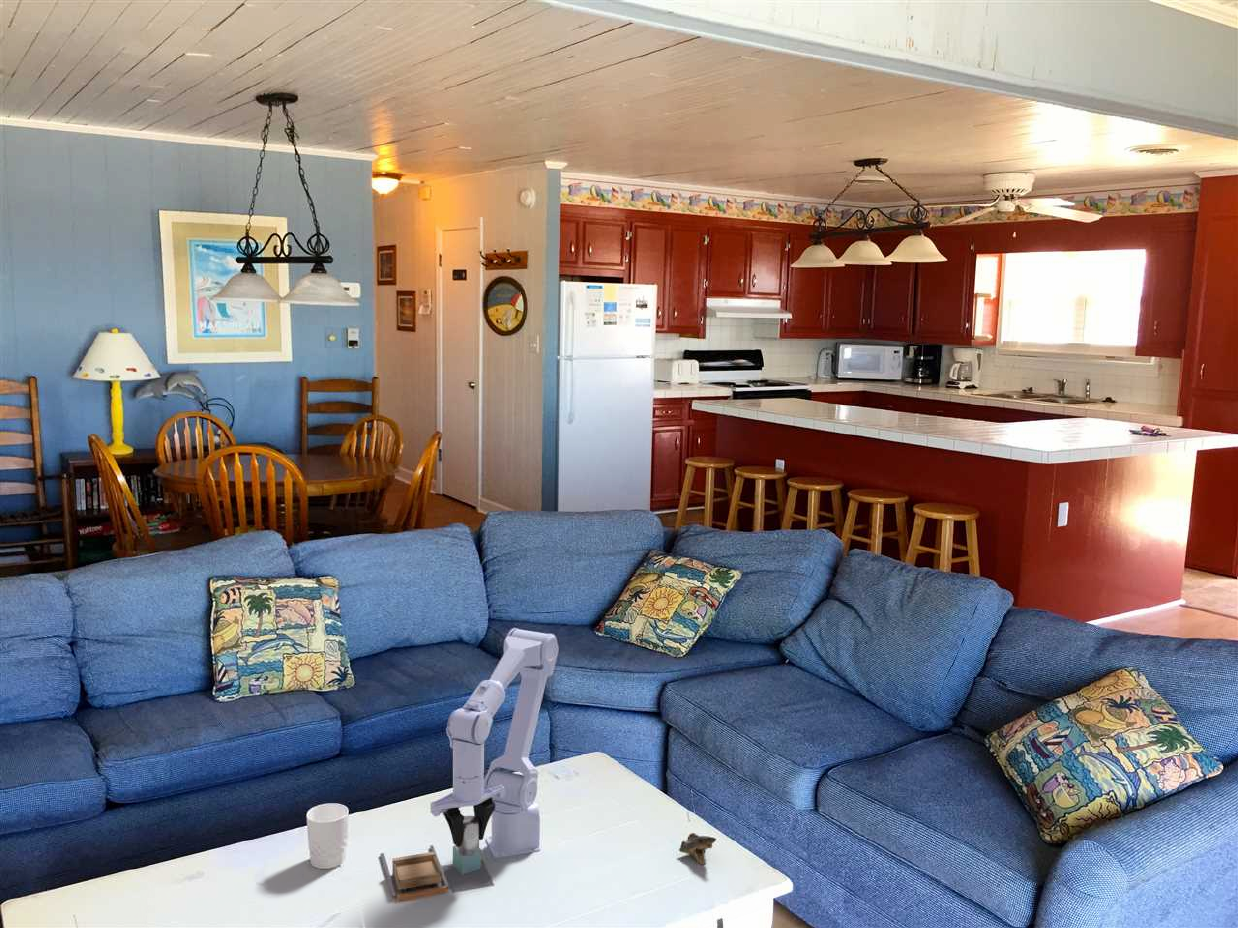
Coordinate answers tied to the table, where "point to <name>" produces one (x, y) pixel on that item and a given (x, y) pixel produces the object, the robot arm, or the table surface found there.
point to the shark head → (697, 846)
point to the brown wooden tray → (416, 871)
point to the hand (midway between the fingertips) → (468, 840)
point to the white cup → (327, 835)
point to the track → (420, 892)
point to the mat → (467, 878)
